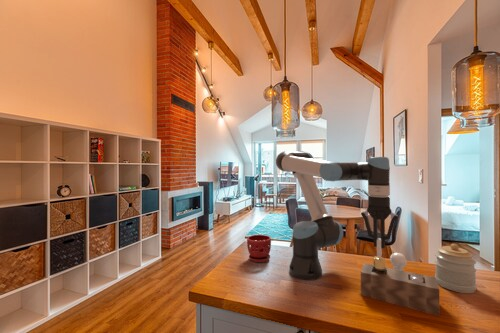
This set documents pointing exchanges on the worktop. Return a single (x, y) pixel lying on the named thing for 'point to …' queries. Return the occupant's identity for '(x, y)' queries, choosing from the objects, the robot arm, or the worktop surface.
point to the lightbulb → (398, 261)
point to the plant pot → (259, 248)
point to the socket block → (401, 289)
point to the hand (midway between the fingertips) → (379, 255)
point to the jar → (455, 269)
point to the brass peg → (379, 265)
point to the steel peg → (416, 278)
